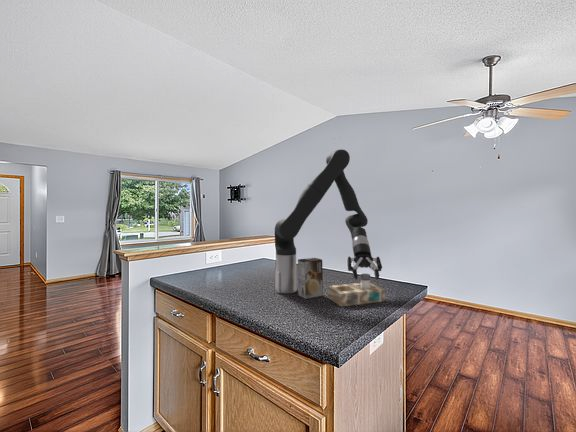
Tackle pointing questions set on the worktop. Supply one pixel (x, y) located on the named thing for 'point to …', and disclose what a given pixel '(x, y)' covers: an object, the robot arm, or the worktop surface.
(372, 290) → the socket block
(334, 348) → the worktop surface
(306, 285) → the coffee box
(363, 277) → the plug
